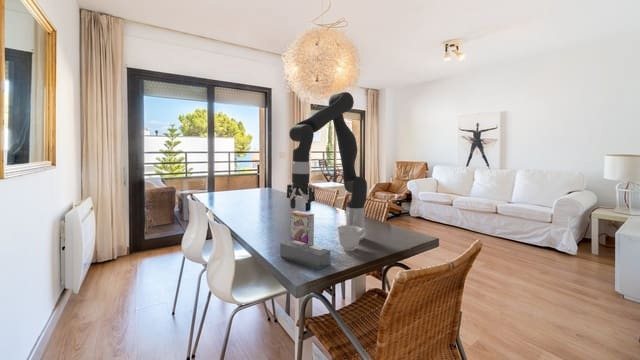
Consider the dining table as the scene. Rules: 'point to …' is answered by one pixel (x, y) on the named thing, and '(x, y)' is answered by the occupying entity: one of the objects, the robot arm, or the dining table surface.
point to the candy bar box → (302, 227)
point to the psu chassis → (305, 254)
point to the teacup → (350, 236)
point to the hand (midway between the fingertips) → (300, 209)
